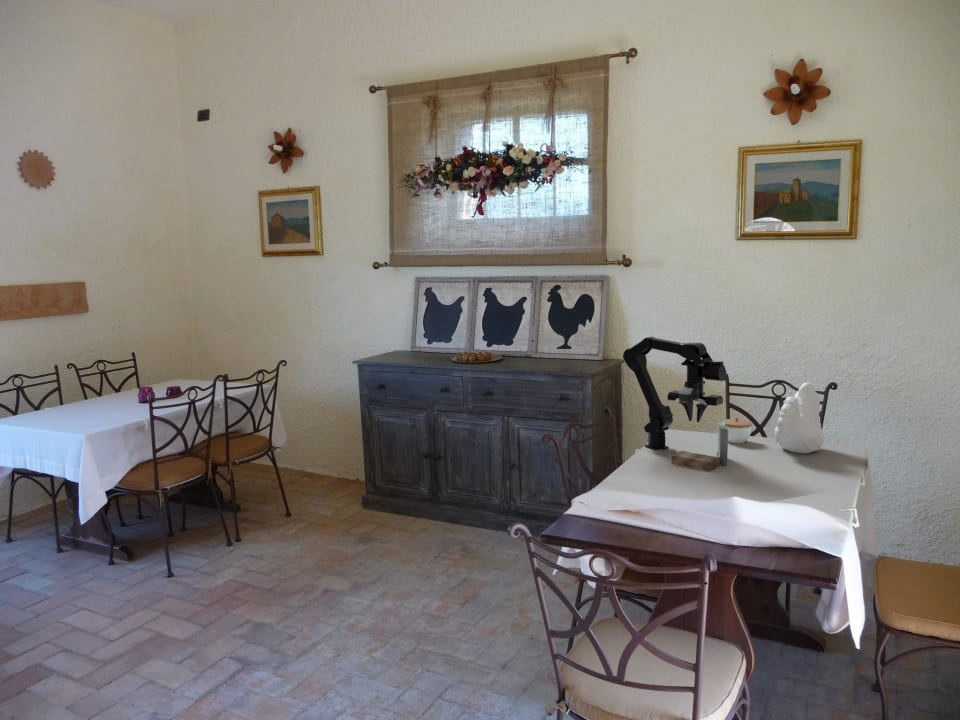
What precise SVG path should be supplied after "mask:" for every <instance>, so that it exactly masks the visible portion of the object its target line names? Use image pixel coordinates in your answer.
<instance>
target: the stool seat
mask: <svg viewBox="0 0 960 720" xmlns="http://www.w3.org/2000/svg"><path fill="white" fill-rule="evenodd" d="M670 464H671V465H676V466H681V467H686V468H691V469H696V470H701V471H707V472H711V470H712V471H713V469H714V470H716V469H718V468H719V467H721V465H720V458H719V457H718V456H713V455H706V454H703V453H702V454H701V453H697V452H696V453H695V452H692V451H691V452H690V451H685V450H681V451H679V452H676V453H673V454H671V463H670ZM717 467H718V468H717Z"/></svg>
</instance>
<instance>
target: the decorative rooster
mask: <svg viewBox="0 0 960 720" xmlns="http://www.w3.org/2000/svg"><path fill="white" fill-rule="evenodd" d="M815 389H816V388H815V385H814V384H813V382H807V381H805V382H804V383H802V384H801V385H800V387H799V389H798V390H797V392H795V395H794V396H787V397H786V398H785V400H784V402H783V405H782V406H781V408H780V411H779V415H778V416H779V417H778V419H777V423H776V424H777V425H776V427H775V428H774V434H775V435H774V436H775V441H776V443H778V444H779V446H780V447H781V448H782V449H784V450H787V451H789V452H791V453H794V452H795V453H796V454H797V453H798V454H810V453H813V452H817V451H819V450H820V449H822V447H823V445H824V442H825V441H824V440H825V438H824V433H823V429H822V423H821V420H820V418H821V417H820V405H821V404H820V401H821V400H820V395H819V394H818V392H817V391H816V390H815Z"/></svg>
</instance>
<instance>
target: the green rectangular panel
mask: <svg viewBox="0 0 960 720" xmlns="http://www.w3.org/2000/svg"><path fill="white" fill-rule="evenodd" d="M717 424H718V426H717V427H718V428H717V429H718V430H717V451H716V457H719V458H720V466H728V450H729V449H728V447H729V444H728V443H729V442H728V430H727V428H726V425H725V423H724V422H722V421H721V422H718V423H717Z"/></svg>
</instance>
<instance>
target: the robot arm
mask: <svg viewBox="0 0 960 720" xmlns="http://www.w3.org/2000/svg"><path fill="white" fill-rule="evenodd" d="M652 349H653V350H657V351H661V352H666V353H667V352H668V353H672V354H676V355H679V356H680V357H681V358H684V361H682V362H681V363H680V365H681V366H685V367H686V381H685V382H684V385H683V387H682V388H680V390H675V389H674V390H671V391H669V392H668V393H667V400H668V401H674V402H675V401H676V400H677V399H678V404H679V405H682V406H683V407H684V410H685V412H686V415H687V418H688V421H689V422H692V420H693V416H694V415H693V411H694V401H695V402H698V403H696V404H695V407H696V423H700V421H701V419H702V416H703V414H704V413H705V411H706V409H707V408H708V406H713V407H714V406H716V407H717V406H719V405H722V404H724V399H723V396H722V395H719V394H718V395H717V394H710V395H707V396H706V392H705V391H704V385H705V384H706V381H716V382H723V381H725V379H726V377H727V369H726V366H725V364H724V361H721V360H719V361H714V360H713V358H712V357H711V356H710V354H709V352H708V351H707V347H706V345H705V344H704V343H702V342H679V341H675V340H674V341H672V340H668V339H663V338H658V337H654V336H648V337H645V338H643V339H642V340H641V341H639V342H638V343H635V344H634V346H631V347H630V348H626V349H625V350H624V352H623V354H622V359H623V361H624V362H625V364H626V366H627V367H628V368H629V369H630V370H631V371H632V372H633V373H634V375H635V378H636V379H637V383H638V384H639V388H640V390H641V392H642V394H643V396H644V399H645V401H646V404H647V406H648V419H649V422H647V424H645V425H644V427H643V428H644V431H645V433H646V434H648V436H647V441H648V442H647V444H644V447H647V448H649V449H651V450H653V451H657V450H664V449H669V446H668V445H666V431H668V430H669V427H670V426H671V425H672V424H673V421H674V418H673V416H674V414H673V412H672V411H671V407H670V406H669V405H664V404H663V403H662V401H661V399H660V396H659V394H658V392H657V389H656V387H655V385H654V382H653V380H652V377H651V376H650V373H649V371H648V368H647V364H648V363H647V362H648V360H647V355H648V354H649V353H650V352H651V351H652ZM704 379H705V380H706V381H705V380H704Z"/></svg>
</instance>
